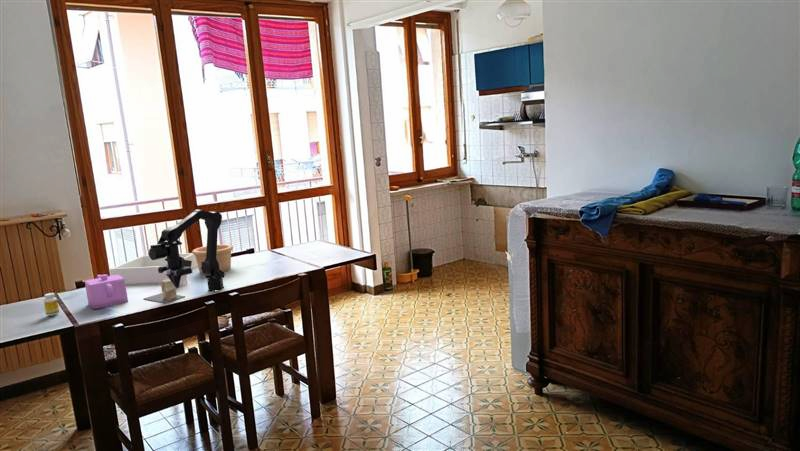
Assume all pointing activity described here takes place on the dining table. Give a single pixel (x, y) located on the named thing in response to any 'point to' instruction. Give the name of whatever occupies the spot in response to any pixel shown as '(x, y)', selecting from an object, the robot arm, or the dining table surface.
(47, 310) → the supplement bottle
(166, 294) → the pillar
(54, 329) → the dining table surface
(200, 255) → the pottery
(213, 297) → the dining table surface
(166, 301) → the mat
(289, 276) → the dining table surface
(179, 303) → the dining table surface
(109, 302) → the pink knobbed box
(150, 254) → the robot arm
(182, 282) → the white upright block
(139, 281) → the tub
